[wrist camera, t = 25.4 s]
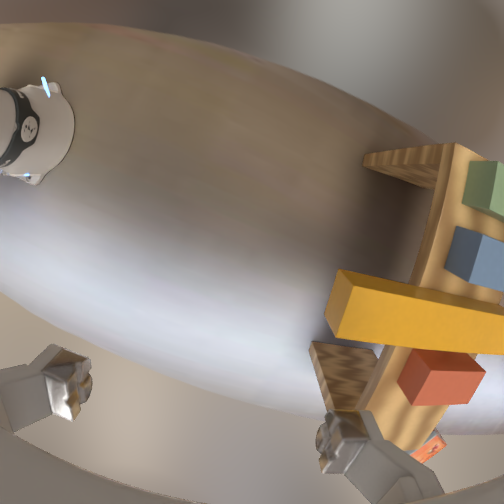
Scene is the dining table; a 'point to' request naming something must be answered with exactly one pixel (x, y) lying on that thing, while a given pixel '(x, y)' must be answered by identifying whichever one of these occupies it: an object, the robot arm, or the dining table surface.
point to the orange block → (412, 316)
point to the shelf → (424, 275)
